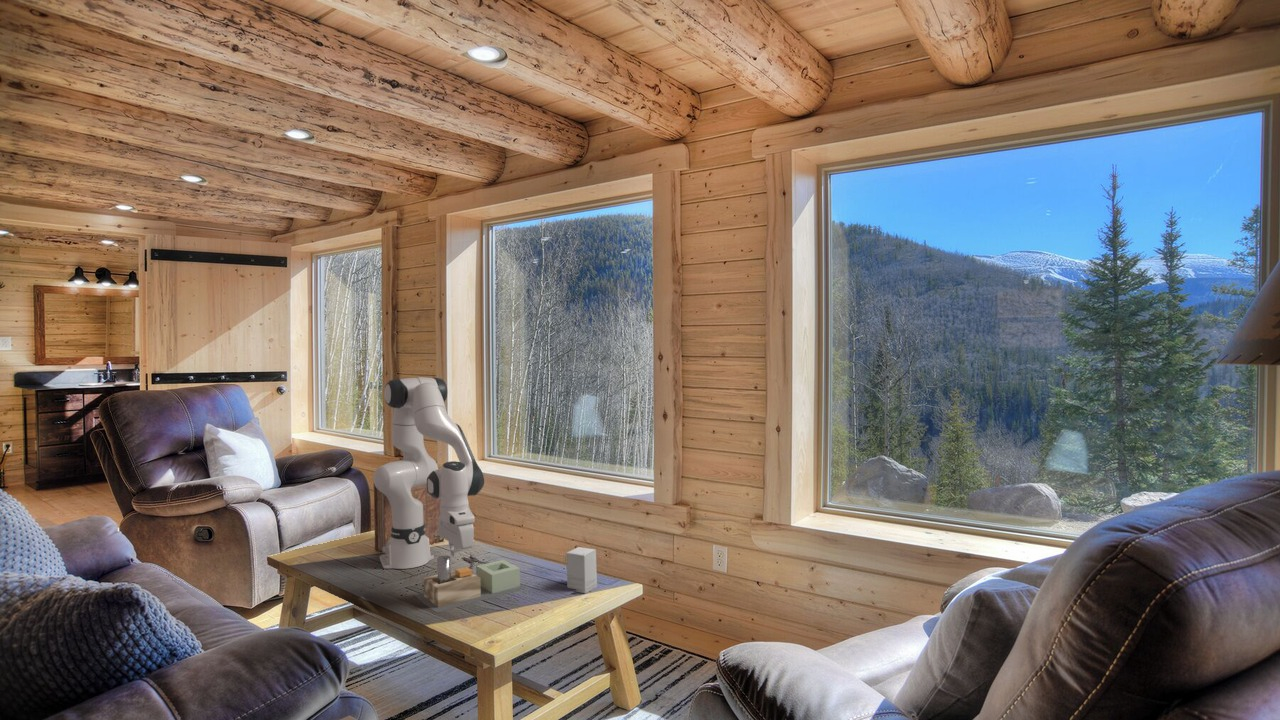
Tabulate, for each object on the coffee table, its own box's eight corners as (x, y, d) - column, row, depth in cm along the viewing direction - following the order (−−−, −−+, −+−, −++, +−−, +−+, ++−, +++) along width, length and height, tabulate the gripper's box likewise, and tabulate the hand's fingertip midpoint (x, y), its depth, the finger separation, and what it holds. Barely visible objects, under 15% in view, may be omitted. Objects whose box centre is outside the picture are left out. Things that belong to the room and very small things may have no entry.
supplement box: (597, 586, 226) (597, 549, 225) (584, 594, 219) (584, 555, 219) (579, 583, 229) (578, 546, 229) (566, 590, 223) (565, 552, 223)
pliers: (478, 572, 241) (447, 561, 254) (478, 575, 241) (448, 563, 254) (501, 565, 248) (470, 555, 261) (501, 568, 248) (470, 557, 261)
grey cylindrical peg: (436, 594, 216) (435, 557, 215) (448, 591, 218) (447, 554, 218) (440, 598, 212) (439, 560, 212) (453, 595, 215) (452, 557, 215)
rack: (476, 583, 228) (476, 565, 228) (503, 576, 234) (503, 559, 234) (492, 593, 219) (491, 574, 219) (520, 586, 225) (519, 568, 225)
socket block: (423, 596, 217) (423, 577, 217) (465, 586, 226) (464, 568, 226) (438, 607, 208) (437, 588, 208) (480, 596, 216) (480, 577, 216)
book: (385, 555, 264) (383, 479, 264) (374, 550, 271) (372, 476, 270) (444, 541, 282) (442, 469, 282) (433, 537, 289) (431, 467, 288)
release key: (455, 586, 219) (455, 569, 219) (467, 583, 222) (466, 566, 222) (460, 589, 216) (460, 572, 216) (472, 586, 219) (472, 569, 219)
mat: (414, 597, 219) (413, 594, 219) (501, 576, 238) (501, 573, 238) (436, 615, 204) (436, 612, 204) (528, 591, 223) (527, 588, 223)
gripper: (432, 508, 223) (433, 549, 224) (457, 521, 207) (458, 566, 208) (451, 505, 227) (451, 546, 228) (477, 518, 211) (477, 562, 212)
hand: (455, 556), depth 218 cm, fingers closed
